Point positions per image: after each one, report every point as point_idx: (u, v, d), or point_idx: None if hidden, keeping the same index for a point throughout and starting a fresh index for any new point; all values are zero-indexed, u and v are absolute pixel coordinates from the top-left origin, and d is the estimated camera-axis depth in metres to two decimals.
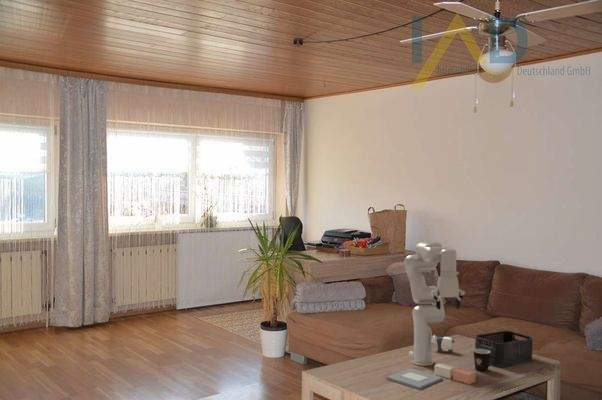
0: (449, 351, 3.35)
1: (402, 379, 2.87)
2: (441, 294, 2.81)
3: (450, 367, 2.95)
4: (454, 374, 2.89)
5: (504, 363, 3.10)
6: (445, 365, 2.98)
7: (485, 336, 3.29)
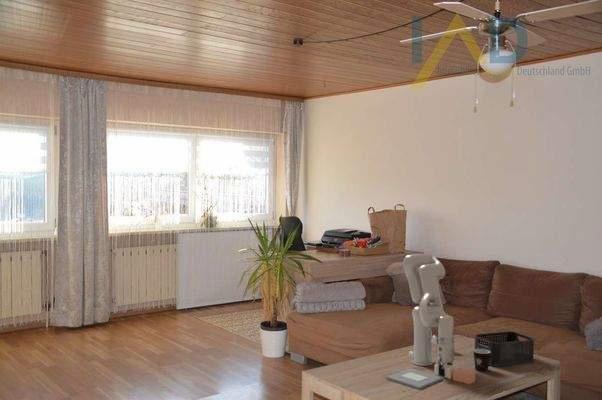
0: None
1: (402, 379, 2.87)
2: None
3: (450, 367, 2.95)
4: (455, 374, 2.89)
5: (500, 363, 3.11)
6: (445, 365, 2.98)
7: None
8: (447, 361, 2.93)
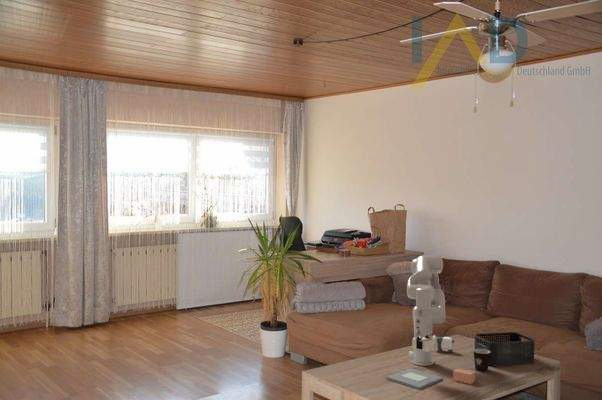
0: (449, 351, 3.35)
1: (402, 379, 2.87)
2: None
3: (428, 340, 2.89)
4: (455, 374, 2.89)
5: (497, 363, 3.11)
6: (423, 338, 2.92)
7: (487, 335, 3.30)
8: (425, 334, 2.87)
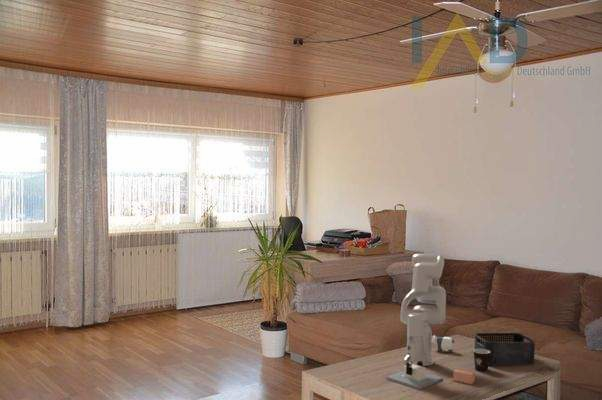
0: (449, 351, 3.35)
1: (402, 379, 2.87)
2: None
3: (419, 368, 2.88)
4: (455, 374, 2.88)
5: (493, 362, 3.12)
6: (414, 366, 2.91)
7: (489, 335, 3.31)
8: (416, 360, 2.86)
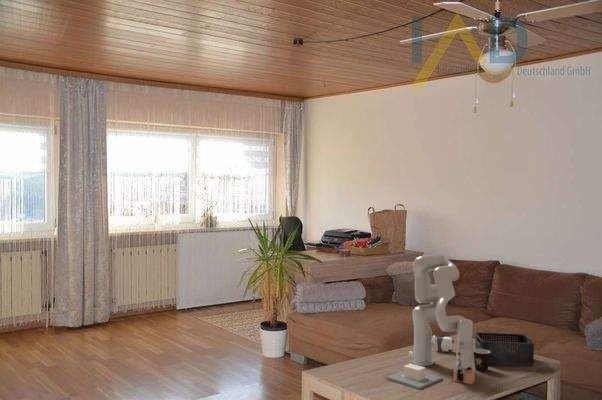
0: (449, 351, 3.35)
1: (402, 379, 2.87)
2: None
3: (419, 368, 2.88)
4: (455, 374, 2.88)
5: (489, 361, 3.13)
6: (414, 366, 2.91)
7: (491, 335, 3.31)
8: (466, 366, 2.85)
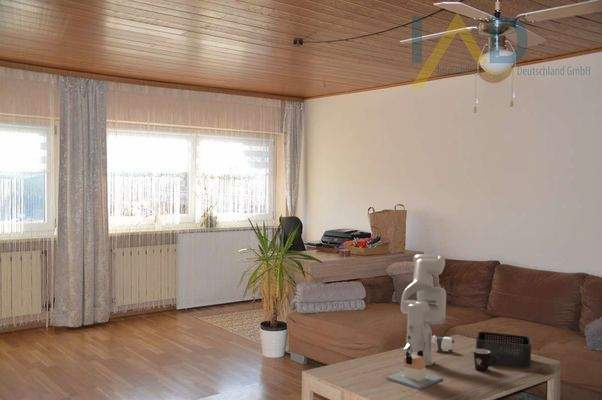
0: (449, 351, 3.35)
1: (402, 379, 2.87)
2: None
3: None
4: (405, 360, 2.89)
5: None
6: None
7: (495, 335, 3.31)
8: (416, 350, 2.86)
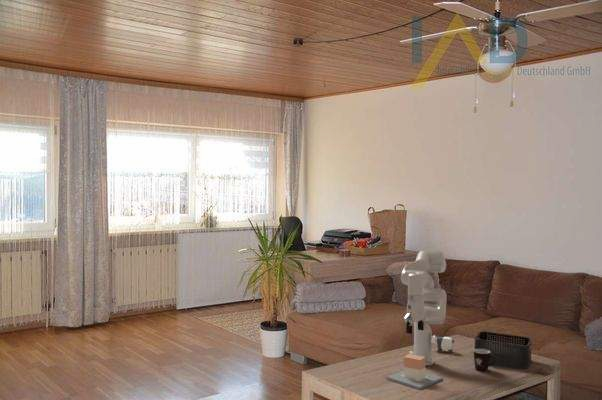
0: (449, 351, 3.35)
1: (402, 379, 2.87)
2: None
3: None
4: (405, 360, 2.89)
5: None
6: None
7: (497, 335, 3.31)
8: (416, 319, 2.86)
